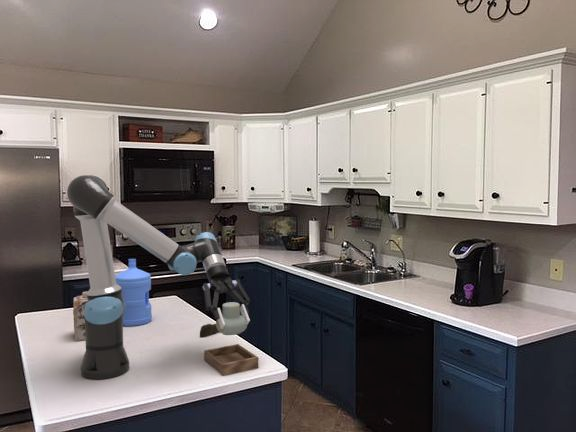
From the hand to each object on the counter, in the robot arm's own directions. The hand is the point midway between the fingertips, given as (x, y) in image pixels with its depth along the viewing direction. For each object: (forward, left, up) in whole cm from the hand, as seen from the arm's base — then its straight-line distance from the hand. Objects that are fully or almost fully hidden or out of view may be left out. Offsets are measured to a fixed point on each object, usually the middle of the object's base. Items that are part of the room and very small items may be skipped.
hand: (235, 324), depth 166 cm
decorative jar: (-36, +61, -15) cm, 73 cm away
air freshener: (0, +3, -4) cm, 5 cm away
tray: (0, +3, -14) cm, 15 cm away
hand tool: (+10, +39, -15) cm, 43 cm away
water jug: (-16, +72, -15) cm, 76 cm away
